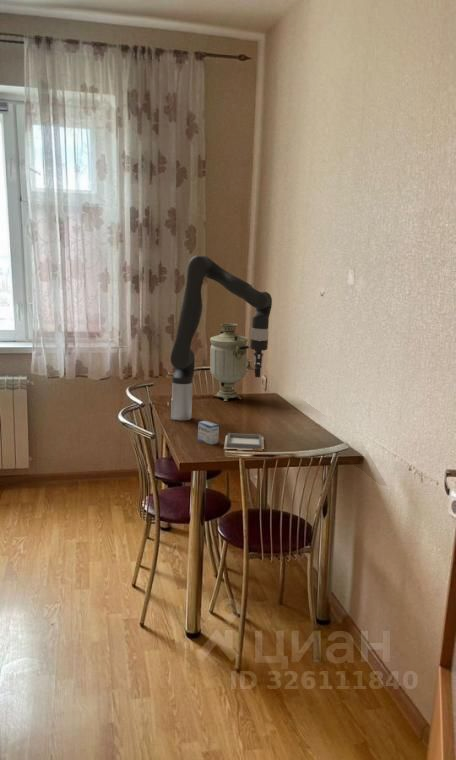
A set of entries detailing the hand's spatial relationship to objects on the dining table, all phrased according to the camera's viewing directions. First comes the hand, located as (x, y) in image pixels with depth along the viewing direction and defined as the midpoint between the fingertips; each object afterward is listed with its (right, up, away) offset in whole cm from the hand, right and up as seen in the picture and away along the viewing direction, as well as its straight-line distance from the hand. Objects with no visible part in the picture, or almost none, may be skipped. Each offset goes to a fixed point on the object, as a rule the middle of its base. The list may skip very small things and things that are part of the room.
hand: (257, 375), depth 267 cm
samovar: (-11, -12, +61) cm, 63 cm away
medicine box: (-21, -29, -15) cm, 39 cm away
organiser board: (-6, -29, -16) cm, 34 cm away
